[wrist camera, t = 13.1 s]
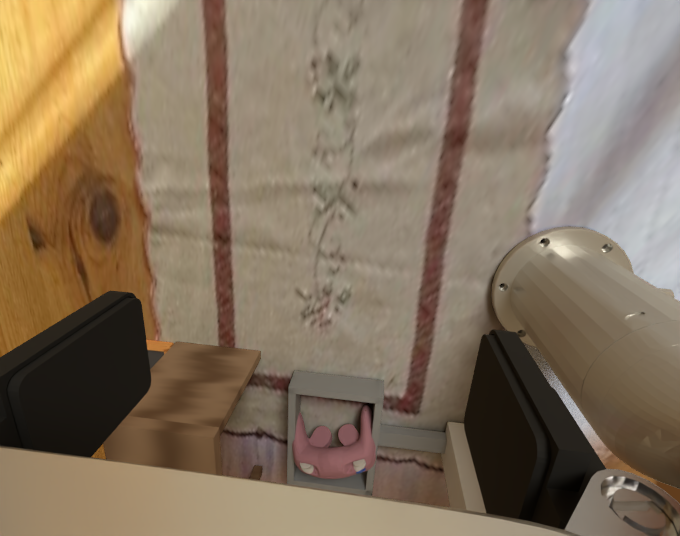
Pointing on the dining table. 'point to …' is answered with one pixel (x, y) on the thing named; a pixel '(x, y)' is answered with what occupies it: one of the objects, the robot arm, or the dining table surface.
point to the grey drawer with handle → (383, 440)
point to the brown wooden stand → (185, 409)
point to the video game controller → (335, 449)
